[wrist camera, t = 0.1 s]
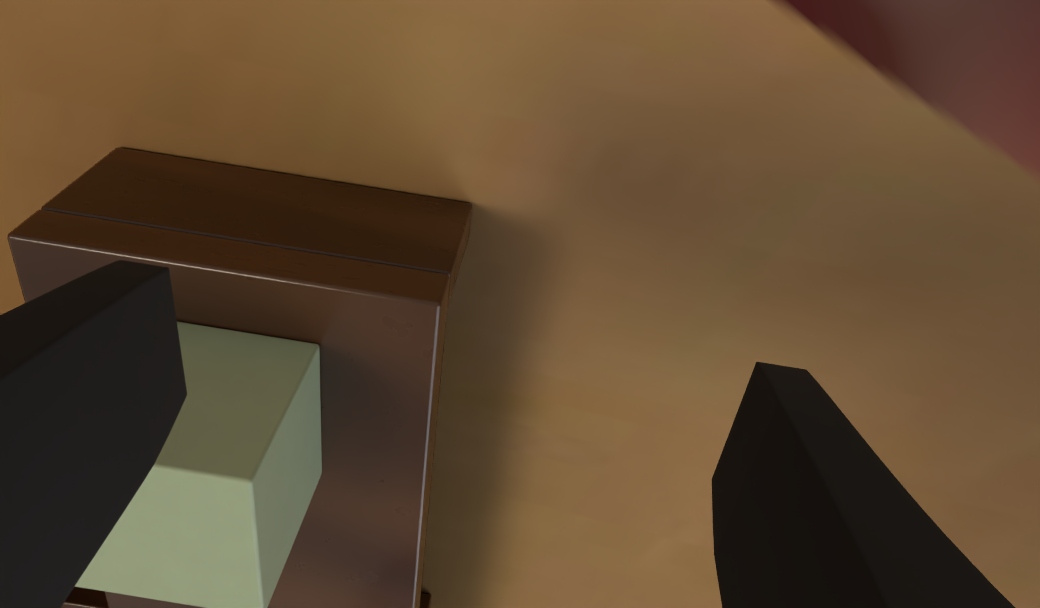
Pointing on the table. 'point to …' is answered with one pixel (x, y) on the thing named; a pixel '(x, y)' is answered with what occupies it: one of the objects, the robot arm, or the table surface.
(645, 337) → the table surface
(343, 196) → the wooden display riser
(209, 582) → the sage block
